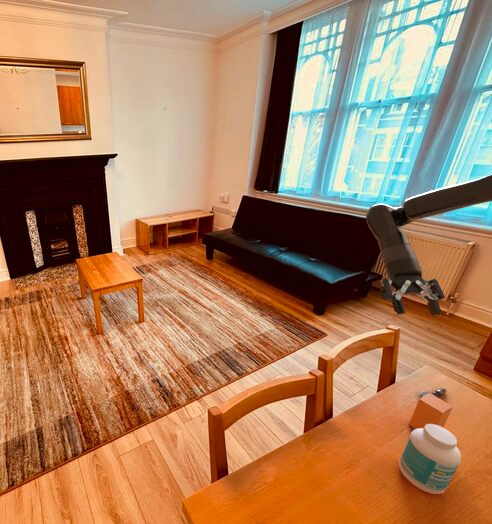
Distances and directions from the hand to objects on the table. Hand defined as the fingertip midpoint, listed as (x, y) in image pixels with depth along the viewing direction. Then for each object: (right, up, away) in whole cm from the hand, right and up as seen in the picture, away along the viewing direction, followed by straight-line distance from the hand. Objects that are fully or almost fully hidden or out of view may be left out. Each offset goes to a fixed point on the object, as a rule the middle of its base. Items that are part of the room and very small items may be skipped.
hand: (418, 314), depth 76 cm
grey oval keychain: (+7, -25, +3) cm, 26 cm away
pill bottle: (-16, -33, -16) cm, 40 cm away
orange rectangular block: (-4, -29, -6) cm, 30 cm away
